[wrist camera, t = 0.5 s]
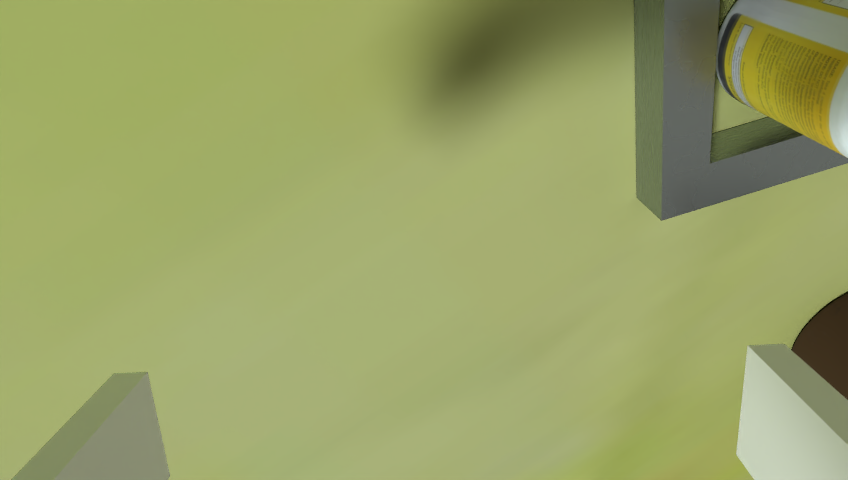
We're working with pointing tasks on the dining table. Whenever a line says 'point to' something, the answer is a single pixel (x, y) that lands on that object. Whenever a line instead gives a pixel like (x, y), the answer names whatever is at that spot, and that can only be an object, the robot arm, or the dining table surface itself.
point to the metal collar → (701, 119)
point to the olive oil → (827, 344)
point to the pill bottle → (790, 64)
